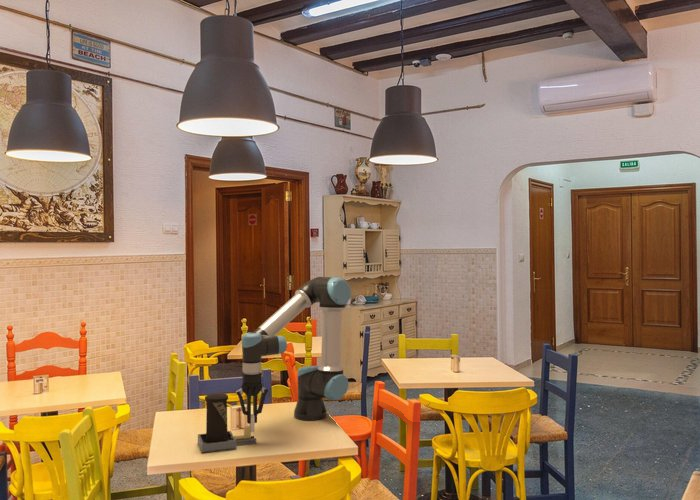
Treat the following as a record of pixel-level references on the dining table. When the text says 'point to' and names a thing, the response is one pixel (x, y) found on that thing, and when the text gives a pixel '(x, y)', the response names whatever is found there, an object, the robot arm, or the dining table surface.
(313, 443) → the dining table surface
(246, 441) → the pin rail
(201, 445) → the dock cradle
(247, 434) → the tan block
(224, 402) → the container
